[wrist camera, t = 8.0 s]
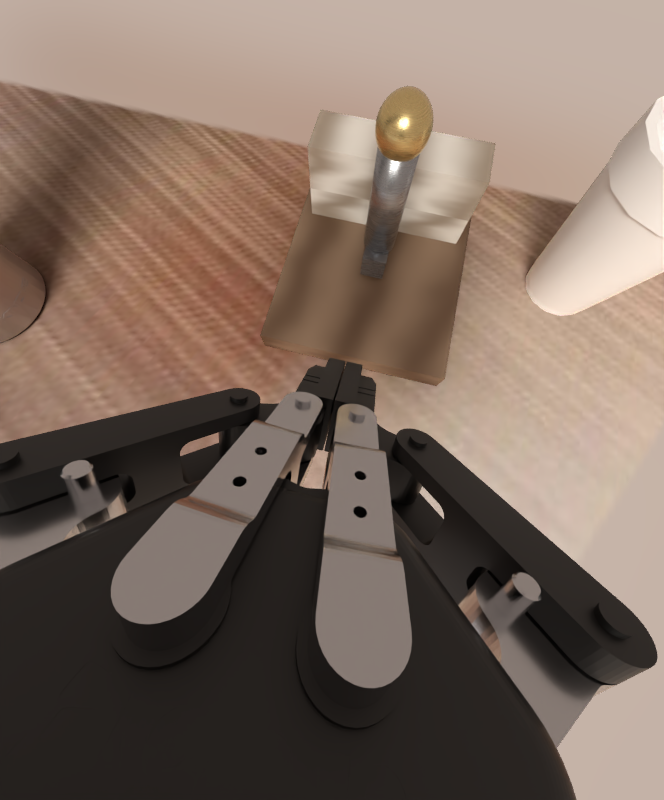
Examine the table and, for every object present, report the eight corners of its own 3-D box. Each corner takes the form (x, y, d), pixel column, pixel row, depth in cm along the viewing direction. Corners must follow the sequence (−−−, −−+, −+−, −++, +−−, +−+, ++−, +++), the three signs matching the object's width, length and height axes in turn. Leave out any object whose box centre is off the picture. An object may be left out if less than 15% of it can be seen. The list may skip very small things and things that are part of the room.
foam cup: (500, 311, 28) (636, 181, 16) (519, 236, 30) (652, 68, 18) (599, 343, 28) (826, 234, 15) (611, 263, 30) (819, 109, 17)
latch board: (265, 345, 27) (239, 294, 20) (315, 194, 32) (310, 102, 24) (436, 385, 26) (480, 349, 19) (463, 225, 31) (508, 141, 23)
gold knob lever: (353, 272, 27) (372, 113, 15) (374, 195, 29) (405, 2, 17) (388, 280, 26) (435, 125, 15) (406, 201, 29) (460, 11, 17)
